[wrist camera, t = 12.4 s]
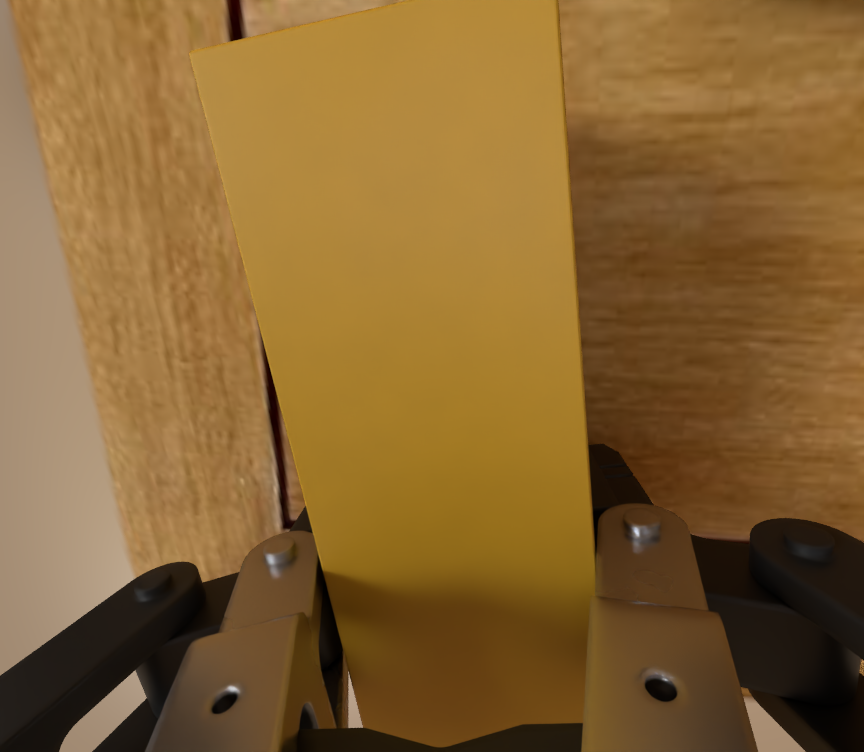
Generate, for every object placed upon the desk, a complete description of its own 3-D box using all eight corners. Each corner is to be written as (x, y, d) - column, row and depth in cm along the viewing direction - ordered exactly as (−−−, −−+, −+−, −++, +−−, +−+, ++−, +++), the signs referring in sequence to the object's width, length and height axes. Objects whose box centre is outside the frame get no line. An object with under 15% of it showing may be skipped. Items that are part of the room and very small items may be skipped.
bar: (435, 742, 13) (419, 947, 9) (310, 131, 9) (185, 50, 5) (578, 739, 13) (622, 955, 9) (519, 89, 8) (556, -38, 5)
